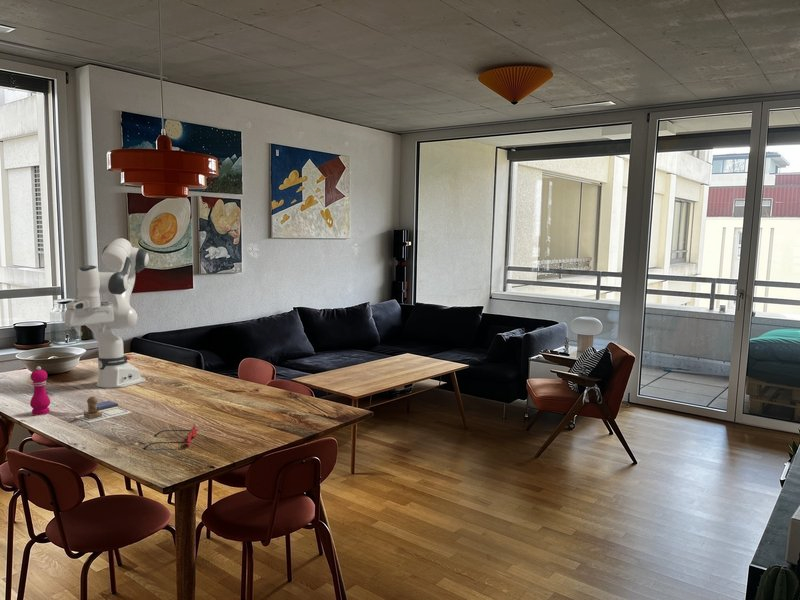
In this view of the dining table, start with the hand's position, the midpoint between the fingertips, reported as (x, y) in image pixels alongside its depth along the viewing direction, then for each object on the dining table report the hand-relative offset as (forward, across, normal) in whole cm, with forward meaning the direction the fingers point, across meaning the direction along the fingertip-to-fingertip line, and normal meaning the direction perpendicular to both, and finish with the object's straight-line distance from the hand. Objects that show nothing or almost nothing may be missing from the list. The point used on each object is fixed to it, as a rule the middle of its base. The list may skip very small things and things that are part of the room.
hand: (90, 334), depth 264 cm
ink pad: (+31, 0, +9) cm, 32 cm away
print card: (+31, +6, +20) cm, 37 cm away
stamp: (+30, +11, +20) cm, 38 cm away
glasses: (+31, +7, +69) cm, 76 cm away
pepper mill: (+31, +21, -2) cm, 38 cm away
